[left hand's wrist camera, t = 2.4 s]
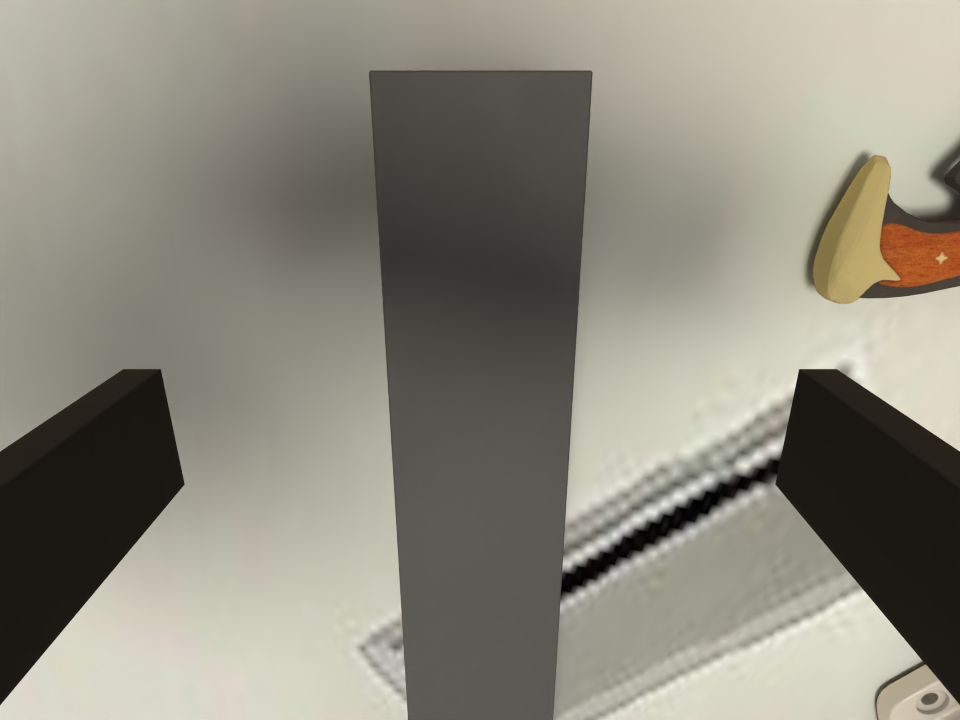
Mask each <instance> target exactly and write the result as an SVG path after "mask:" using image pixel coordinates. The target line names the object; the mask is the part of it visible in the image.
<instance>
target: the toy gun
mask: <svg viewBox="0 0 960 720" xmlns="http://www.w3.org/2000/svg"><path fill="white" fill-rule="evenodd" d="M890 178H891V168H890V165H889V163H888V161H887V158H885V157H883V156H878V155H874V156H873V157H872V158H871V159H870V160H869V161H868V162H867V163H866V164H865V165H864V166H863V167H862V168H861V169H860V170H859V172H858V173H857V175H856V177H855V178H854V180H853V181H852V183H851V184H850V186H849V187H848V189H847V191H846V193H845V194H844V196H843V198H842V200H841V201H840V203H839V205H838V207H837V208H836V210H835V212H834V214H833V215H832V217H831V219H830V221H829V223H828V225H827V227H826V229H825V231H824V233H823V236H822V238H821V241H820V244H819V247H818V250H817V253H816V256H815V260H814V267H813V278H814V283H815V287H816V290H817V291H818V293H819V294H820V295H821V296H822V297H824V298H825V299H827V300H830V301H833V302H835V303H839V304H848V303H852V302H854V301H855V300H857V299H858V298H890V297H902V296H910V295H916V294H923V293H928V292H933V291H938V290H942V289H947V288H952V287H957V286H960V219H956V220H946V221H922V220H919V219H917V218H915V217H913V216H911V215H910V214H908V213H906V212H905V211H904V210H902V209H901V208H900V207H899V206H897V205H896V204H895V203H894V202H893V201H892V199H891V198H890V196H889V194H888V190H889V184H890ZM945 182H946V184H947V185H949V186H951V187H952V188H954V189H955V190H957V191H958V192H959V193H960V161H959V162H958V163H957V164H956V165H955V166H954V167H953V168H952V169H951V170H950V171H949V172H948V173H947V174H946V176H945Z"/></svg>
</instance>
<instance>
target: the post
mask: <svg viewBox="0 0 960 720" xmlns="http://www.w3.org/2000/svg"><path fill="white" fill-rule="evenodd" d="M369 78H370V95H371V111H372V128H373V144H374V161H375V178H376V194H377V211H378V227H379V244H380V260H381V277H382V294H383V310H384V327H385V343H386V360H387V377H388V393H389V410H390V426H391V443H392V460H393V476H394V493H395V509H396V526H397V543H398V559H399V576H400V592H401V609H402V625H403V642H404V659H405V675H406V692H407V708H408V720H553V710H554V694H555V677H556V661H557V645H558V628H559V612H560V595H561V579H562V563H563V546H564V530H565V514H566V497H567V481H568V465H569V448H570V432H571V416H572V399H573V383H574V366H575V350H576V334H577V317H578V301H579V285H580V268H581V252H582V236H583V219H584V203H585V187H586V170H587V154H588V137H589V121H590V105H591V88H592V71H370V72H369Z"/></svg>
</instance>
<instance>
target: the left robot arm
mask: <svg viewBox="0 0 960 720" xmlns="http://www.w3.org/2000/svg"><path fill="white" fill-rule="evenodd" d="M183 486H184V480H183V475H182V470H181V465H180V460H179V455H178V451H177V446H176V441H175V436H174V431H173V426H172V422H171V417H170V412H169V407H168V402H167V397H166V393H165V388H164V383H163V378H162V373H161V369H123V370H122V371H120V372H119V373H117V374H116V375H114V376H113V377H111V378H110V379H108V380H107V381H105V382H104V383H102V384H101V385H99V386H98V387H96V388H95V389H93V390H92V391H90V392H89V393H87V394H86V395H84V396H83V397H81V398H80V399H78V400H77V401H75V402H74V403H72V404H71V405H69V406H68V407H66V408H65V409H63V410H62V411H60V412H59V413H57V414H56V415H54V416H53V417H51V418H50V419H48V420H47V421H45V422H44V423H42V424H41V425H39V426H38V427H36V428H35V429H33V430H32V431H30V432H29V433H27V434H26V435H24V436H23V437H21V438H20V439H18V440H17V441H15V442H14V443H12V444H11V445H9V446H8V447H6V448H5V449H3V450H2V451H0V705H1V704H2V702H3V701H4V700H5V699H6V698H7V696H8V695H9V694H10V693H11V692H12V690H13V689H14V688H15V687H16V686H17V684H18V683H19V682H20V681H21V680H22V678H23V677H24V676H25V675H26V674H27V672H28V671H29V670H30V669H31V668H32V666H33V665H34V664H35V663H36V662H37V660H38V659H39V658H40V657H41V656H42V654H43V653H44V652H45V651H46V650H47V648H48V647H49V646H50V645H51V644H52V642H53V641H54V640H55V639H56V638H57V636H58V635H59V634H60V633H61V632H62V631H63V629H64V628H65V627H66V626H67V625H68V623H69V622H70V621H71V620H72V619H73V617H74V616H75V615H76V614H77V613H78V611H79V610H80V609H81V608H82V607H83V605H84V604H85V603H86V602H87V601H88V599H89V598H90V597H91V596H92V595H93V593H94V592H95V591H96V590H97V589H98V587H99V586H100V585H101V584H102V583H103V581H104V580H105V579H106V578H107V577H108V575H109V574H110V573H111V572H112V571H113V569H114V568H115V567H116V566H117V565H118V563H119V562H120V561H121V560H122V559H123V557H124V556H125V555H126V554H127V553H128V552H129V550H130V549H131V548H132V547H133V546H134V544H135V543H136V542H137V541H138V540H139V538H140V537H141V536H142V535H143V534H144V532H145V531H146V530H147V529H148V528H149V526H150V525H151V524H152V523H153V522H154V520H155V519H156V518H157V517H158V516H159V514H160V513H161V512H162V511H163V510H164V508H165V507H166V506H167V505H168V504H169V502H170V501H171V500H172V499H173V498H174V496H175V495H176V494H177V493H178V492H179V490H180V489H181V488H182V487H183ZM776 486H777V487H778V488H779V489H780V490H781V492H782V493H783V494H784V495H785V496H786V498H787V499H788V500H789V501H790V502H791V504H792V505H793V506H794V507H795V508H796V510H797V511H798V512H799V513H800V514H801V516H802V517H803V518H804V519H805V520H806V522H807V523H808V524H809V525H810V526H811V528H812V529H813V530H814V531H815V532H816V534H817V535H818V536H819V537H820V538H821V540H822V541H823V542H824V543H825V544H826V546H827V547H828V548H829V549H830V550H831V552H832V553H833V554H834V555H835V556H836V557H837V559H838V560H839V561H840V562H841V563H842V565H843V566H844V567H845V568H846V569H847V571H848V572H849V573H850V574H851V575H852V577H853V578H854V579H855V580H856V581H857V583H858V584H859V585H860V586H861V587H862V589H863V590H864V591H865V592H866V593H867V595H868V596H869V597H870V598H871V599H872V601H873V602H874V603H875V604H876V605H877V607H878V608H879V609H880V610H881V611H882V613H883V614H884V615H885V616H886V617H887V619H888V620H889V621H890V622H891V623H892V625H893V626H894V627H895V628H896V629H897V631H898V632H899V633H900V634H901V635H902V636H903V638H904V639H905V640H906V641H907V642H908V644H909V645H910V646H911V647H912V648H913V650H914V651H915V652H916V653H917V654H918V656H919V657H920V658H921V659H922V660H923V662H924V663H925V664H926V665H927V666H928V668H929V669H930V670H931V671H932V672H933V674H934V675H935V676H936V677H937V678H938V680H939V681H940V682H941V683H942V684H943V686H944V687H945V688H946V689H947V690H948V692H949V693H950V694H951V695H952V696H953V698H954V699H955V700H956V701H957V702H958V704H959V705H960V451H958V450H957V449H955V448H954V447H952V446H951V445H949V444H948V443H946V442H945V441H943V440H942V439H940V438H939V437H937V436H936V435H934V434H933V433H931V432H930V431H928V430H927V429H925V428H924V427H922V426H921V425H919V424H918V423H916V422H915V421H913V420H912V419H910V418H909V417H907V416H906V415H904V414H903V413H901V412H900V411H898V410H897V409H895V408H894V407H892V406H891V405H889V404H888V403H886V402H885V401H883V400H882V399H880V398H879V397H877V396H876V395H874V394H873V393H871V392H870V391H868V390H867V389H865V388H864V387H862V386H861V385H859V384H858V383H856V382H855V381H853V380H852V379H850V378H849V377H847V376H846V375H844V374H843V373H841V372H840V371H838V370H837V369H799V373H798V378H797V383H796V388H795V393H794V397H793V402H792V407H791V412H790V417H789V422H788V426H787V431H786V436H785V441H784V446H783V451H782V455H781V460H780V465H779V470H778V475H777V480H776Z"/></svg>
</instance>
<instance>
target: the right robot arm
mask: <svg viewBox="0 0 960 720" xmlns="http://www.w3.org/2000/svg"><path fill="white" fill-rule="evenodd" d="M877 714H878V719H879V720H960V705H959V704H958V702H957V701H956V700H955V699H954V698H953V696H952V695H951V694H950V693H949V692H948V690H947V689H946V688H945V687H944V686H943V684H942V683H941V682H940V681H939V680H938V678H937V677H936V676H935V675H934V674H933V672H932V671H931V670H930V669H929V668H928V666H927V665H926V664H925V665H924V666H922V667H920V668H918V669H916V670H915V671H913V672H911V673H909V674H908V675H906V676H904V677H902V678H900V679H899V680H897V681H895V682H893V683H891V684H890V685H888V686H887V687H886V688H884V689H883V690H882V691H881V693H880V694H879V696H878V699H877Z"/></svg>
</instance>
